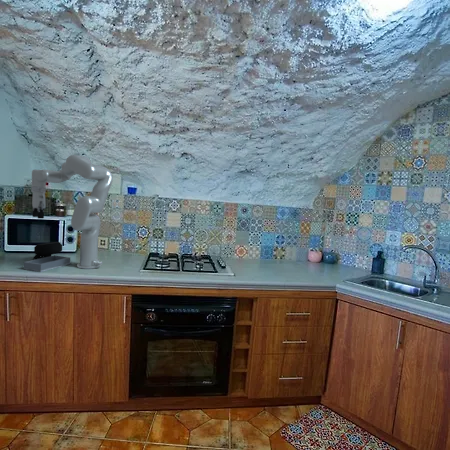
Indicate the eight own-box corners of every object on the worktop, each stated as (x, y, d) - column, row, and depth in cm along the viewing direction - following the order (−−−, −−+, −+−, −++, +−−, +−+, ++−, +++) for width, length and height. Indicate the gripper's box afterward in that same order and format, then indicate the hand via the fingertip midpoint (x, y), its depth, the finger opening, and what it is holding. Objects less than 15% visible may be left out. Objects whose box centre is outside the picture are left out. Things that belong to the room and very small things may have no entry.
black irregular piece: (29, 261, 190) (30, 244, 190) (54, 256, 208) (54, 241, 207) (38, 262, 189) (39, 246, 188) (62, 257, 206) (63, 242, 205)
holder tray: (70, 264, 191) (70, 257, 190) (40, 271, 169) (40, 264, 169) (54, 261, 193) (54, 255, 193) (23, 269, 172) (23, 262, 171)
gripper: (50, 190, 192) (49, 219, 193) (40, 189, 203) (40, 216, 205) (36, 190, 186) (35, 219, 188) (27, 189, 198) (27, 216, 199)
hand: (38, 217), depth 196 cm, fingers open, 9 cm apart
